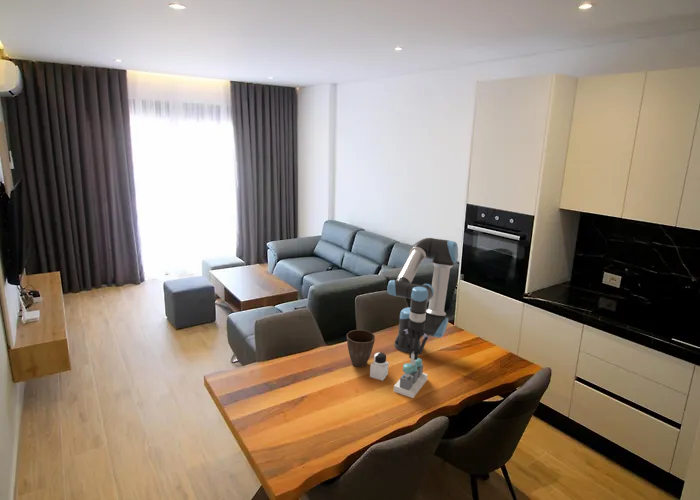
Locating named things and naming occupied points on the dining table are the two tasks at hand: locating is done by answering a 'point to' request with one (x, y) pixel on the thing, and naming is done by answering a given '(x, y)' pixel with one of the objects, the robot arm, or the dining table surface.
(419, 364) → the knob
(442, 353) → the dining table surface
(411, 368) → the knob
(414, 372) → the knob
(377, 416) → the dining table surface
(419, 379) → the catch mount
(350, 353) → the plant pot
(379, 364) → the medicine bottle
